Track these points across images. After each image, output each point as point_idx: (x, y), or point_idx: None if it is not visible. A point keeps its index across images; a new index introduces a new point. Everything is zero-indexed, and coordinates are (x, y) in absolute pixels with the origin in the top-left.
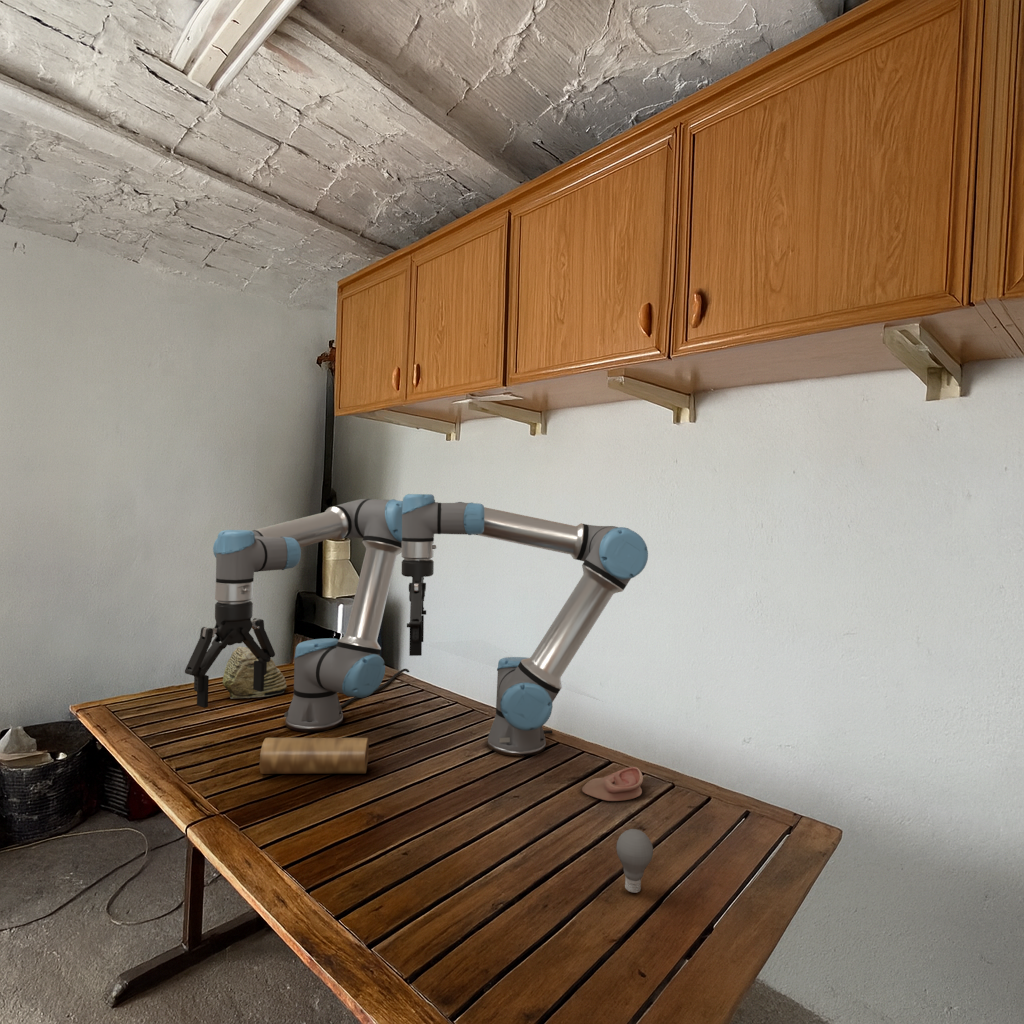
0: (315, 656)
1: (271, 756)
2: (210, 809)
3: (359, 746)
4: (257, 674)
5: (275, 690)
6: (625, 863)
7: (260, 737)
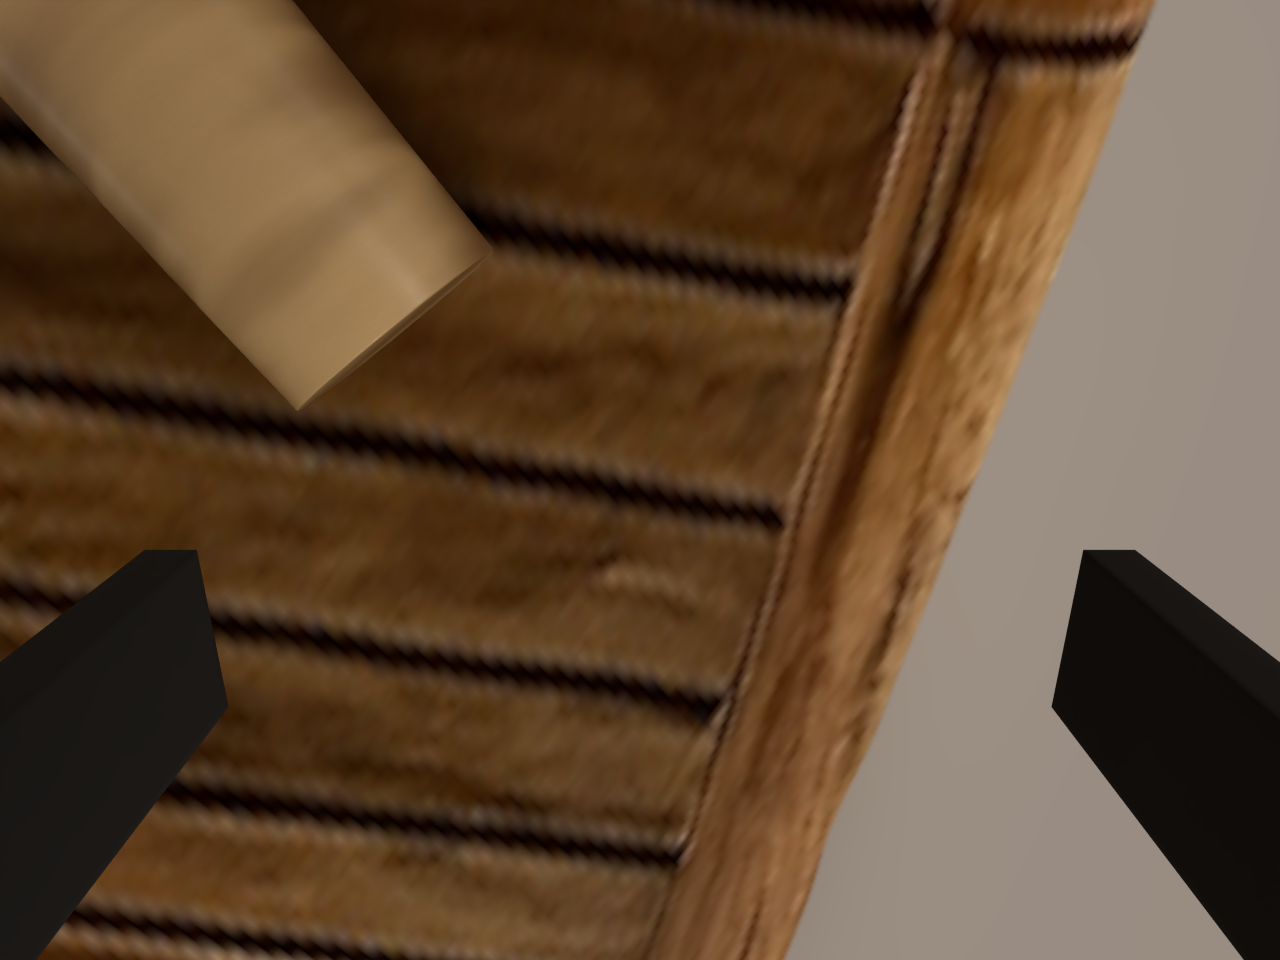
0: None
1: (418, 187)
2: (931, 127)
3: None
4: (53, 804)
5: None
6: None
7: None
